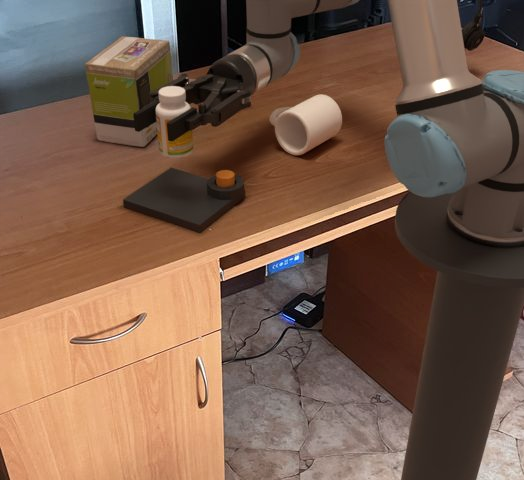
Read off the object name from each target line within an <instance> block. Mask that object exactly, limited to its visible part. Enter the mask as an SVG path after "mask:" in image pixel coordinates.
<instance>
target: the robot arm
mask: <svg viewBox="0 0 524 480" xmlns="http://www.w3.org/2000/svg"><path fill="white" fill-rule="evenodd" d="M359 1H360V0H245V2H246V3H245V5H246V35H245V36H246V44H244V45H243V46H241V47H239V48H237V49H235V50H233V51H231V52H230V53H228V54H226V55H225V56H223V57H221V58H219V59H217V60H216V61H215V62H213V63H212V64H211V65H210V66H209V68H208V70H207V71H206V74H204V75H200V76H198V77H196V79H194V78H189V75H188V73H180V75H179V76H178V77H177V78H175V79H173V81H171V82H169V83H167V84H165V85H163V86H161V87H159V88H158V89H156V90H154V91H152V92H150V93H149V98H150V104H148V105H146V106H144V107H143V108H142V109H140V110H139V111H137V112H135V113H133V116H134V126H135V131H137V132H140V131H141V130H143V129H145V128H146V127H148V126H150V125H152V124H153V123H155V122H156V107H157V105H158V104H159V103H160V101H159V90H160V89H161V88H164V87H168V86H178V87H182V88H183V89H185V93H186V100H185V102H187V103H188V104H189V105H191V104H193V105H196V106H197V107H191V109H189V110H187V111H186V112H184V113H182V114H181V115H179V116H177V117H176V118H174V119H172V120H171V121H169V122H167V134H168V141H174V140H176V139H177V138H179V137H180V136H182V135H183V134H185V133H187V132H188V131H191V130H192V131H194V130H195V129H197V128H199V127H201V126H207V125H208V124H211V125H210V126H211V127H213V128H217V127H219V126H221V125H222V124H224V123H225V122H226V121H228V120H229V119H230V118H232V117H234V115H236V114H238V113H239V112H240V111H242V110H244V109H245V110H246V109H247V108H250V107H252V96H253V95H254V94H256V93H258V92H259V91H261V90H262V89H264V88H265V87H267V86H268V85H270V84H272V83H274V82H275V81H277V80H279V79H281V78H282V77H284V76H286V75H287V74H288V73H289V72H290V71H291V70H292V69H294V68H295V67H296V65H297V64H298V63H299V59H300V54H301V49H300V45H299V43H298V40H297V37H296V36H295V35H294V34H293V32H292V31H291V27H292V19H295V18H298V17H303V16H308V15H312V14H313V15H314V14H317V13H322V12H328V11H332V10H341V9H344V8H346V7H348V6H352V5H355V4H357V3H359ZM387 4H388V5H387V6H388V10H389V17H390V22H391V26H392V32H393V39H394V44H395V49H396V55H397V60H398V65H399V70H400V76H401V82H402V88H401V91H400V92H399V93H398V95H397V97H396V99H395V100H394V107H395V111H396V117H395V118H394V119H393V121H392V122H391V123H389V125H388V127H387V130H386V135H385V137H384V152H385V156H386V160H387V163H388V166H389V168H390V170H391V172H392V173H393V175H394V176H395V178H396V180H397V181H398V182H399V183H400V184H401V185H403V186H404V187H405V189H407V190H408V192H412V193H414V194H416V195H419V196H422V197H436V196H440V195H443V194H446V193H454V192H455V193H454V195H453V196H452V198H451V200H450V202H449V204H448V208H447V214H446V221H447V223H448V225H449V227H450V228H451V229H452V230H453V231H454V232H455V233H456V234H458V235H459V236H461V237H463V238H465V239H467V240H469V241H471V242H474V243H477V244H480V245H484V246H489V247H496V248H517V247H523V246H524V71H521V70H514V69H513V70H511V69H497V70H492V71H489V72H487V73H486V74H484V77H483V79H481V78H479V77H477V76H475V75H474V74H473V73H471V72H470V70H469V69H468V64H467V63H468V62H467V57H466V50H465V49H464V43H463V37H462V24H461V18H460V12H459V6H458V0H387Z"/></svg>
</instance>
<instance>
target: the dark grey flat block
mask: <svg viewBox="0 0 524 480" xmlns="http://www.w3.org/2000/svg"><path fill="white" fill-rule="evenodd" d="M245 198H246V189H245V180H244V179H243V178H242V177H241V175H237V174H235V184H234V186H231V187H219V186H217V185H216V174H214V175H212V176H210V177H209V178H207V177H205V176H201V175H199V174H194V173H191V172H189V171H185V170H181V169H178V168H175V167H170V168H168V169H166V170H165V171H164V172H162V173H161V174H159V175H157V176H156V177H154V178H153V179H151V180H150V181H148V182H147V183H145V184H143V186H141V187H140V188H138V189H136V190H135V191H133V192H132V193H130V194H128V195H127V196H126V197H124V198H122V204H123V208H125V209H129V210H132V211H135V212H138V213H141V214H144V215H146V216H149V217H152V218H155V219H158V220H161V221H164V222H167V223H170V224H173V225H176V226H179V227H182V228H185V229H188V230H191V231H193V232H197V233H202V232H203V231H204V230H206V229H207V228H208V227H209V226H211V225H212V224H213V223H215V222H216V221H217V220H219V218H220V217H221V218H222V216H224V215H225V214H226V213H227V212H228V211H230V210H231V209H232V208H233V207H235V206H236V205H237V204H238V203H240V202H241V201H242V200H244V199H245Z"/></svg>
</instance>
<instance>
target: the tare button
mask: <svg viewBox="0 0 524 480" xmlns="http://www.w3.org/2000/svg"><path fill="white" fill-rule="evenodd" d="M215 175H216V185H217V186H219V187H231V186H234V184H235V175H236V173H235V172H234V171H232V170H230V169H222V170H219V171H217V172H215Z"/></svg>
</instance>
